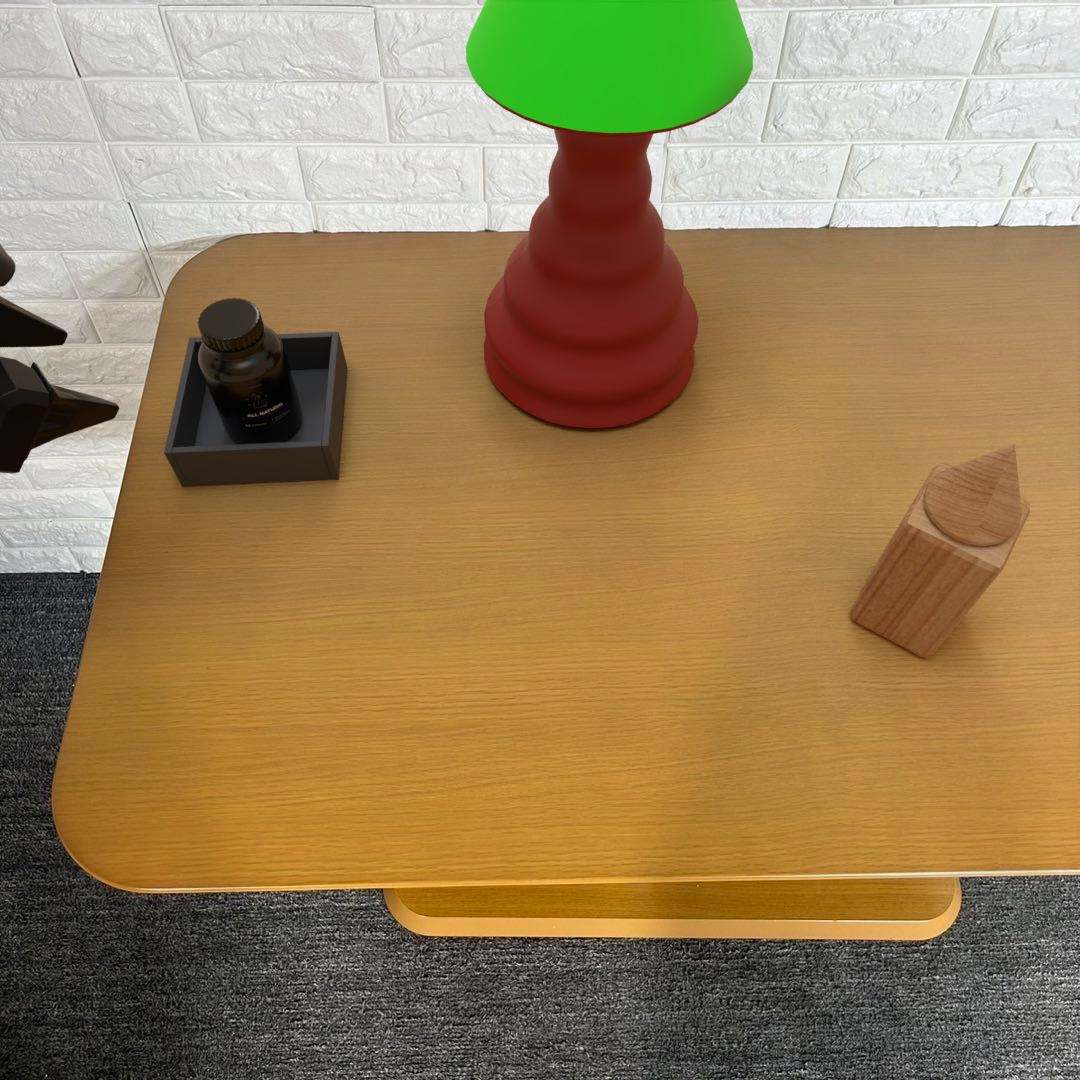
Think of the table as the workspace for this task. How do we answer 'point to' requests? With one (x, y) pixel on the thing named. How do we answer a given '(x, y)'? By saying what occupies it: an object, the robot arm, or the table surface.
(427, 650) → the table surface
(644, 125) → the table lamp
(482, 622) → the table surface
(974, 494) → the decorative item
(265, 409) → the supplement bottle
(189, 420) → the bin
